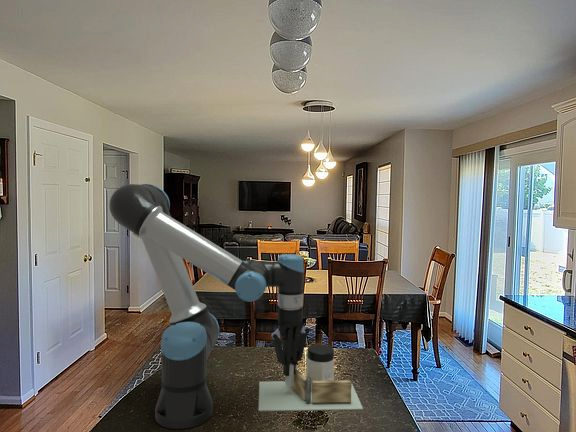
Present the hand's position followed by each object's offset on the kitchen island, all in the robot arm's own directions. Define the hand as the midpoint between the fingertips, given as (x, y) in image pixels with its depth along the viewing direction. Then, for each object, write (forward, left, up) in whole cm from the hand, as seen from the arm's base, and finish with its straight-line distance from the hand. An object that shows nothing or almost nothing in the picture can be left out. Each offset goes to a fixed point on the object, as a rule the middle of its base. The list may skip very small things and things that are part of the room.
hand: (289, 385), depth 125 cm
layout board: (+6, -1, -3) cm, 6 cm away
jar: (+10, +3, -3) cm, 10 cm away
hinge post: (+5, -6, -3) cm, 8 cm away
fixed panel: (+12, -6, -3) cm, 13 cm away
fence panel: (+2, 0, -2) cm, 3 cm away
